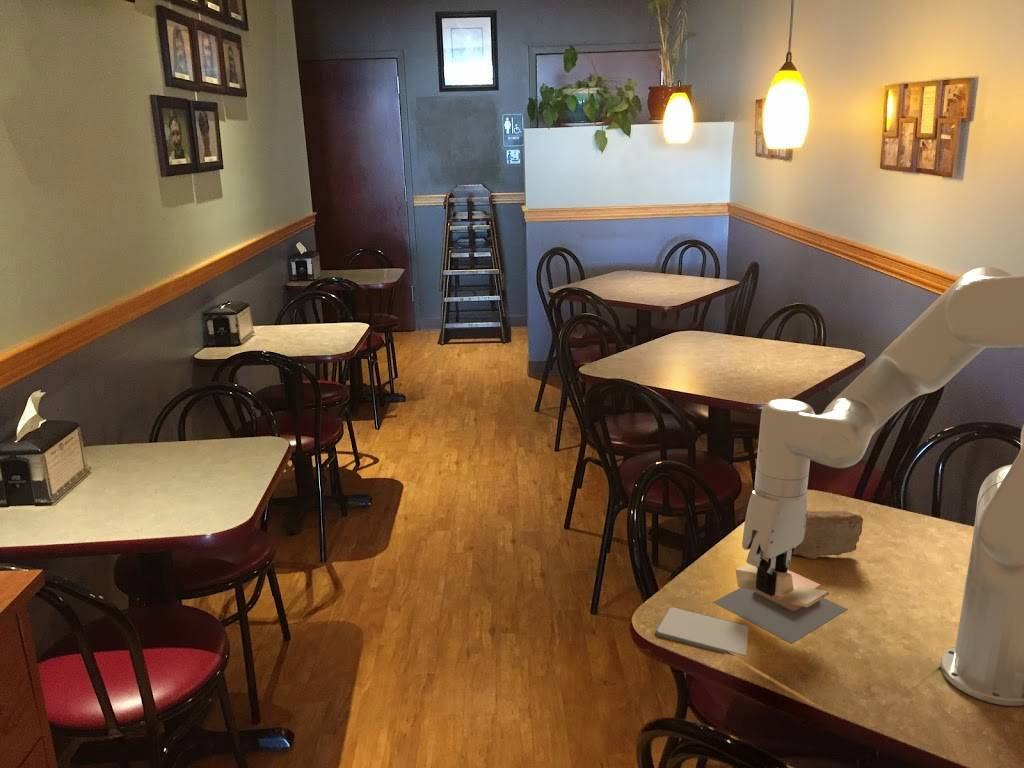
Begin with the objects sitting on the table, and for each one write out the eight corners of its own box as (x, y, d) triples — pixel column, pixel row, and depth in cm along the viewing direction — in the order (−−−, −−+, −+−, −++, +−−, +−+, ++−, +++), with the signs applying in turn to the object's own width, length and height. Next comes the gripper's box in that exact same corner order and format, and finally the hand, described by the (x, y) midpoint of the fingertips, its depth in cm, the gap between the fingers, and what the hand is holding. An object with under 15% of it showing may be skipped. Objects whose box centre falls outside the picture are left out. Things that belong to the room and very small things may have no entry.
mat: (847, 611, 135) (847, 609, 135) (791, 645, 127) (791, 643, 126) (769, 574, 147) (769, 572, 147) (712, 603, 138) (713, 601, 138)
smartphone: (752, 658, 123) (654, 631, 130) (752, 663, 124) (653, 637, 130) (763, 628, 130) (669, 605, 137) (763, 634, 131) (669, 610, 137)
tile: (820, 584, 138) (779, 565, 144) (795, 599, 134) (753, 579, 140) (819, 597, 138) (778, 578, 145) (793, 612, 134) (752, 592, 141)
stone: (752, 546, 157) (752, 559, 154) (752, 504, 153) (752, 516, 150) (859, 551, 152) (861, 564, 149) (861, 507, 148) (864, 519, 145)
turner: (731, 590, 134) (728, 572, 134) (753, 579, 137) (750, 561, 137) (807, 607, 123) (804, 587, 123) (829, 594, 126) (826, 575, 126)
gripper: (791, 461, 133) (780, 564, 139) (727, 486, 124) (718, 595, 130) (833, 476, 128) (821, 583, 133) (769, 504, 118) (758, 617, 124)
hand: (770, 588), depth 131 cm, fingers closed on turner, 2 cm apart
